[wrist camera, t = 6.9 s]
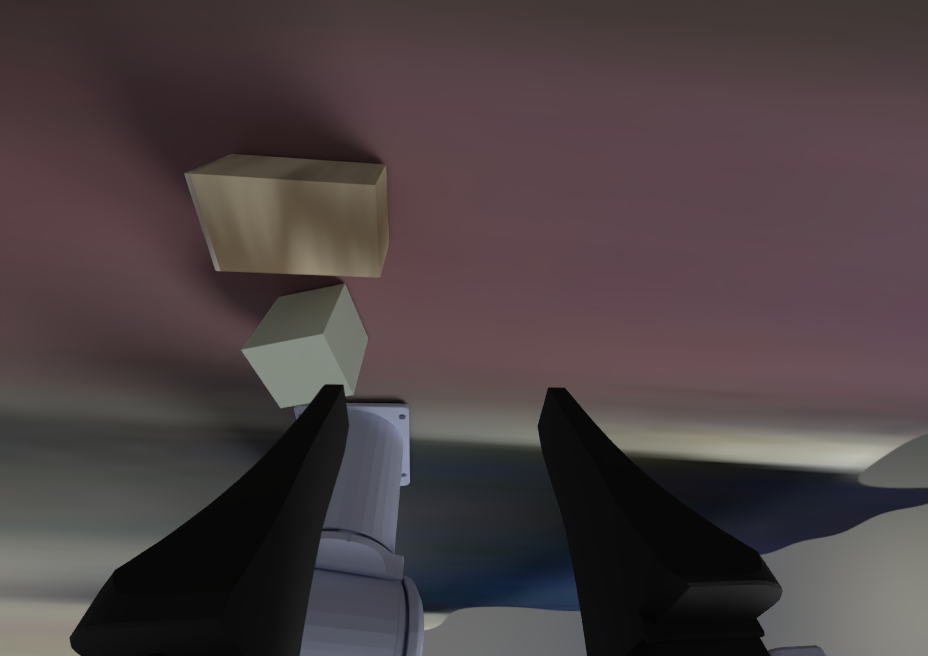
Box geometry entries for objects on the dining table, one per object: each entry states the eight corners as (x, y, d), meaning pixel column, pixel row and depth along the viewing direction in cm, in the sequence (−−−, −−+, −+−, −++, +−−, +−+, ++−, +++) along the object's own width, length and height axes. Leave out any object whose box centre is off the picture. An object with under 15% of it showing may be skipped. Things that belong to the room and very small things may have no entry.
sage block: (368, 338, 24) (353, 394, 19) (307, 350, 24) (280, 408, 20) (344, 283, 21) (322, 333, 17) (278, 296, 22) (240, 349, 17)
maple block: (252, 237, 19) (388, 243, 20) (215, 270, 16) (380, 277, 17) (231, 153, 17) (386, 164, 18) (184, 173, 14) (374, 185, 15)
